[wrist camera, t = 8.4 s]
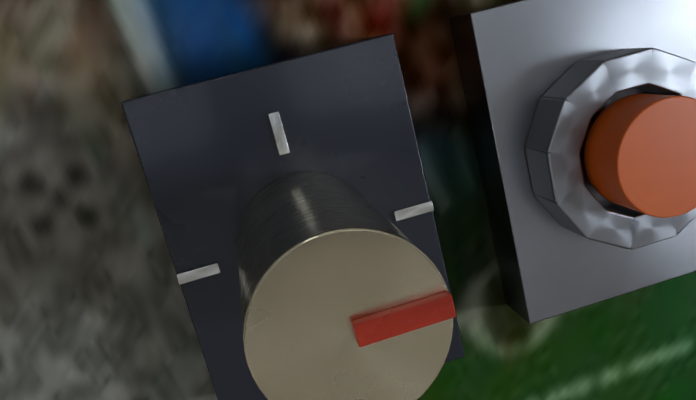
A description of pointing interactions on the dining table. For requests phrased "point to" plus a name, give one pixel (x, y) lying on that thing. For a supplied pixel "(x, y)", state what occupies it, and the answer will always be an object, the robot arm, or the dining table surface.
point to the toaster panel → (275, 171)
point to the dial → (337, 297)
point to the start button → (645, 154)
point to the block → (570, 142)
